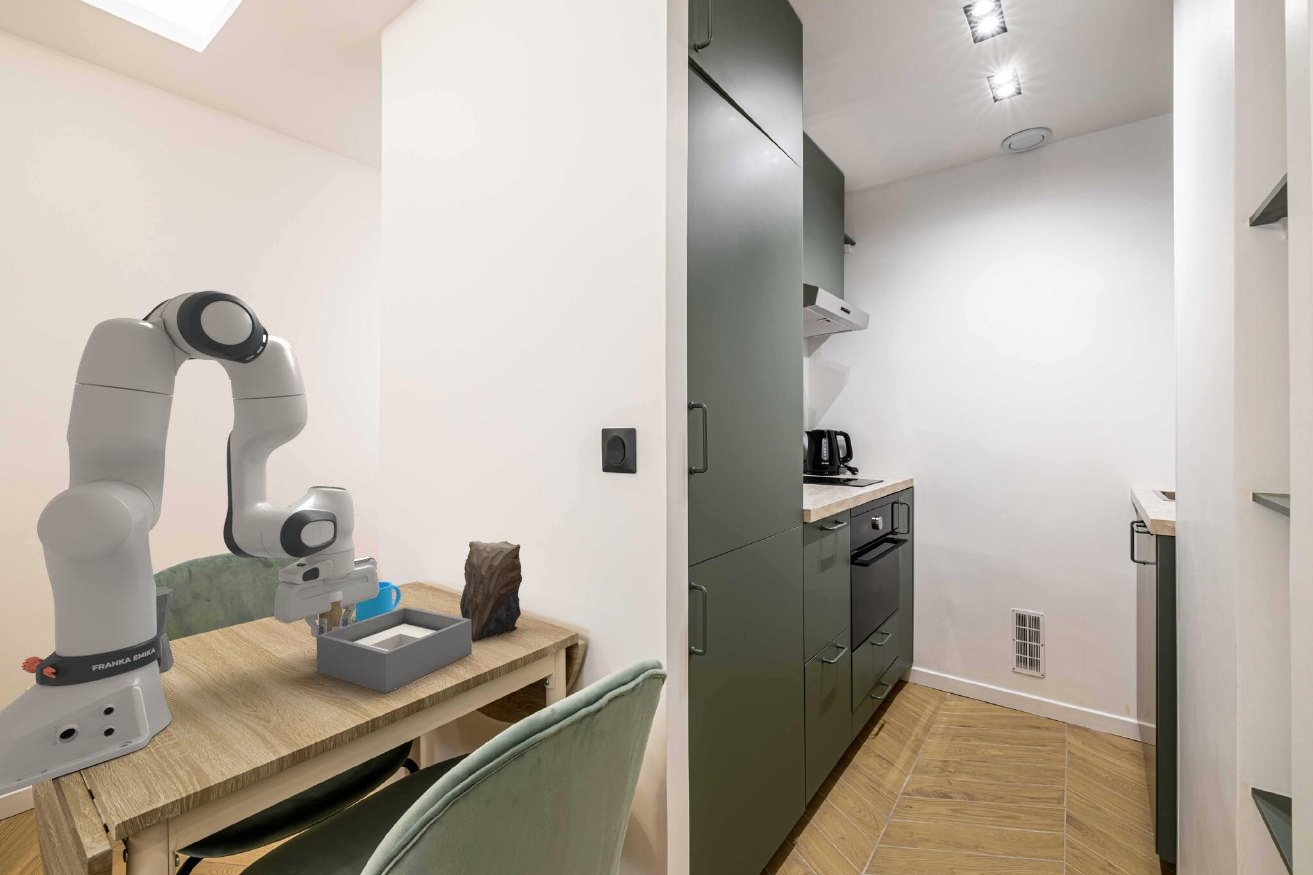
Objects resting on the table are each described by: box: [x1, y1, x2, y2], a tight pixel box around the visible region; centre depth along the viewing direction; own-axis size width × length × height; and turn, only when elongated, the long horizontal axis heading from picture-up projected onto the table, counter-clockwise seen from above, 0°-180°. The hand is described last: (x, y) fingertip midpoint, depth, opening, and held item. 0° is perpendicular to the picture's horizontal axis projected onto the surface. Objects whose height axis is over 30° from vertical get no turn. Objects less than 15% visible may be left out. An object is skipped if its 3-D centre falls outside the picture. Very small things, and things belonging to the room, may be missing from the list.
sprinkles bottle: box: [318, 591, 344, 633], centre depth 115 cm, size 5×5×14 cm
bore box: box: [316, 605, 473, 694], centre depth 112 cm, size 20×20×7 cm
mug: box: [355, 581, 402, 623], centre depth 140 cm, size 12×8×8 cm
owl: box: [459, 540, 523, 642], centre depth 130 cm, size 13×13×20 cm
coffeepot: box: [156, 586, 175, 674], centre depth 107 cm, size 15×9×18 cm, turn 6°
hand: (331, 631), depth 115 cm, fingers closed on sprinkles bottle, 4 cm apart
